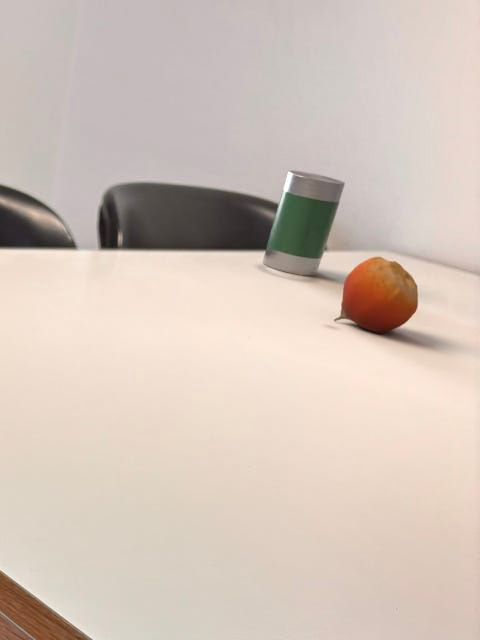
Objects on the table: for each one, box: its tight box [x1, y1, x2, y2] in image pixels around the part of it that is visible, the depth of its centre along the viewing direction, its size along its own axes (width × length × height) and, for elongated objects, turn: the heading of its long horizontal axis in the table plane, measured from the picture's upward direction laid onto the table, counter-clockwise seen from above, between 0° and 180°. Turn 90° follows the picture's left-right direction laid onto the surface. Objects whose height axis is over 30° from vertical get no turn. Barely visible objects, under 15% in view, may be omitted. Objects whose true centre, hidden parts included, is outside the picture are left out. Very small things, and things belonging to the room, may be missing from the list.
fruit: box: [333, 256, 419, 335], centre depth 113 cm, size 8×8×8 cm
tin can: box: [262, 170, 346, 277], centre depth 135 cm, size 7×7×11 cm
